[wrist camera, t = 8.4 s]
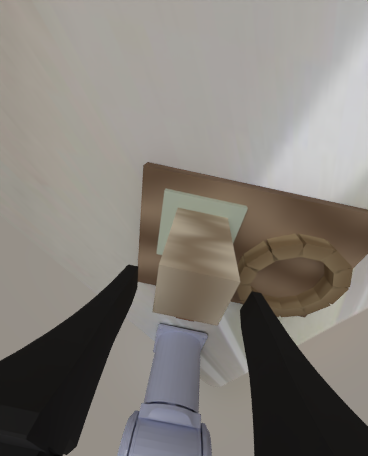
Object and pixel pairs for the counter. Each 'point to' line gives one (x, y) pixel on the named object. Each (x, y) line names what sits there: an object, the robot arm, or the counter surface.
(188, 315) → the peg
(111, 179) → the counter surface
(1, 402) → the robot arm
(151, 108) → the counter surface
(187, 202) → the sage pad
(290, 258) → the base board
